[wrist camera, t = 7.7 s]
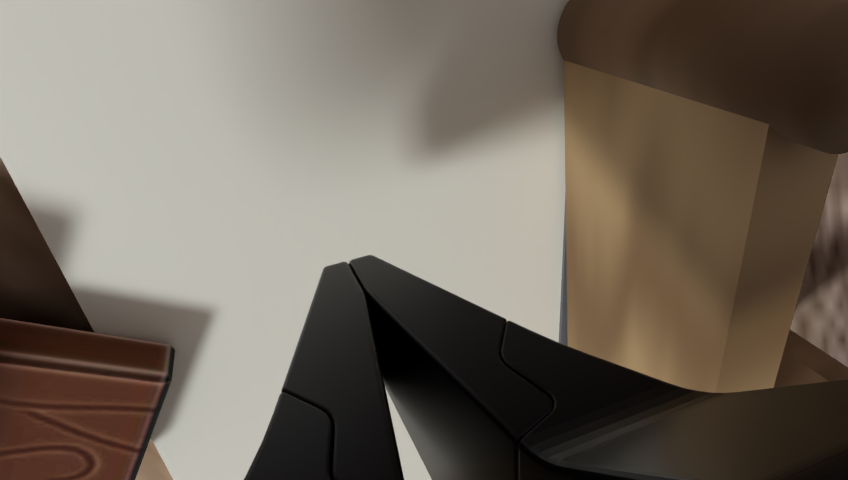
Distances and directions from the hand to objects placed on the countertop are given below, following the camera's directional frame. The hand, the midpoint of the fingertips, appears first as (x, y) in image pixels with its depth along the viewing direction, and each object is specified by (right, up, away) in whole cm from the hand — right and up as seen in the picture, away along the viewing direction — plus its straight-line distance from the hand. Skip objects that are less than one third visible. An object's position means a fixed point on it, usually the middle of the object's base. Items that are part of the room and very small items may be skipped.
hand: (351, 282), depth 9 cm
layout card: (+4, 0, +5) cm, 6 cm away
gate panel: (+6, +1, +4) cm, 7 cm away
